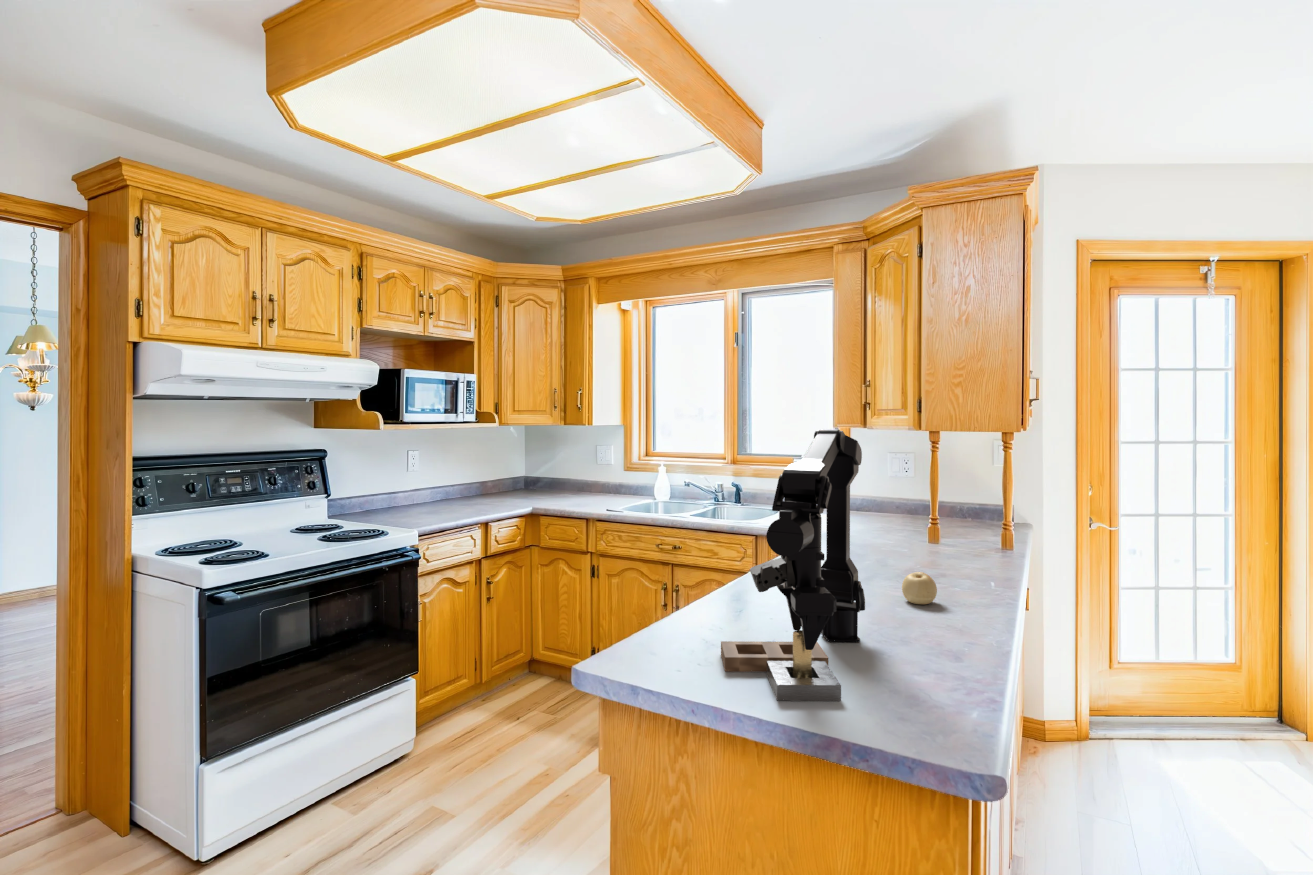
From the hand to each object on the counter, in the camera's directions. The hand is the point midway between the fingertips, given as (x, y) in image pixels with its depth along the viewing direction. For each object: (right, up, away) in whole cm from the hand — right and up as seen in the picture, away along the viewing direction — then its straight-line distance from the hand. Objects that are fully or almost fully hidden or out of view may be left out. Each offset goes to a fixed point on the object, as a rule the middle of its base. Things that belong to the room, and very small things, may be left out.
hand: (802, 639), depth 105 cm
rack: (-3, -8, +11) cm, 13 cm away
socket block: (0, -8, 0) cm, 8 cm away
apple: (+39, -7, +49) cm, 63 cm away
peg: (0, -8, 0) cm, 8 cm away
